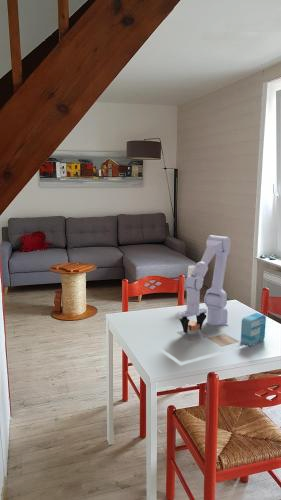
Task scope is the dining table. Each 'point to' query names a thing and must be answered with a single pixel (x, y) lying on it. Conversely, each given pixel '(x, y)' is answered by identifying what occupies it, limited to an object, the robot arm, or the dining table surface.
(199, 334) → the slate stand
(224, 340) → the walnut stand
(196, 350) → the dining table surface
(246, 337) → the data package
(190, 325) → the orange-brown cube
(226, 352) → the dining table surface
